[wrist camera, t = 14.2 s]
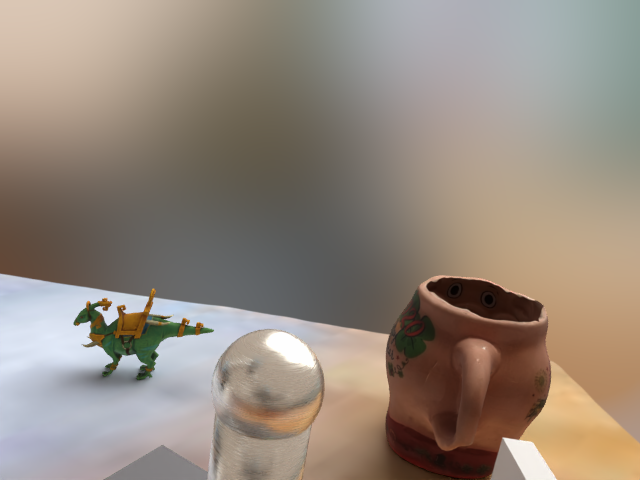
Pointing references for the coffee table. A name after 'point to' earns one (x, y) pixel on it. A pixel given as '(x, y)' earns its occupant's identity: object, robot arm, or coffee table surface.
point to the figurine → (133, 333)
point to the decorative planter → (464, 374)
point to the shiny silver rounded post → (264, 407)
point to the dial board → (160, 468)
